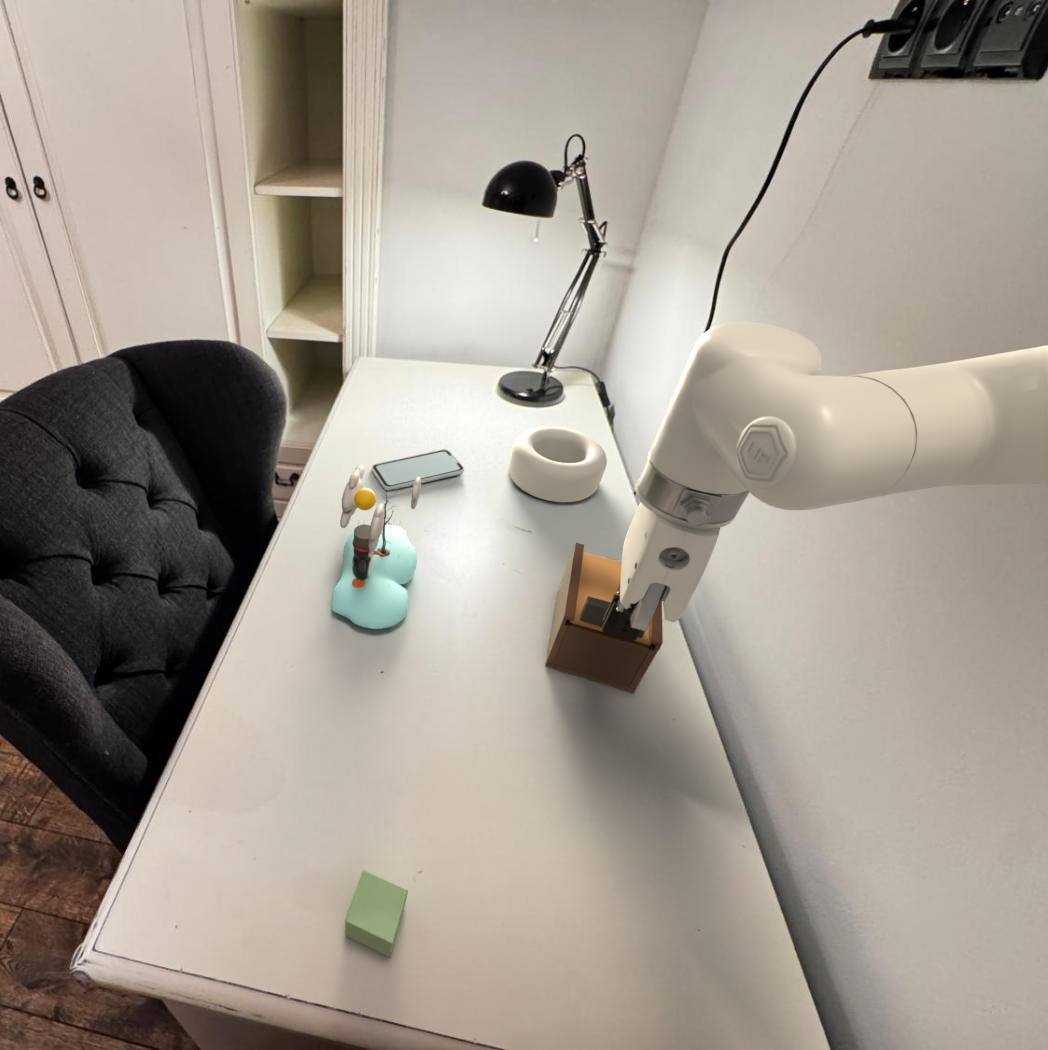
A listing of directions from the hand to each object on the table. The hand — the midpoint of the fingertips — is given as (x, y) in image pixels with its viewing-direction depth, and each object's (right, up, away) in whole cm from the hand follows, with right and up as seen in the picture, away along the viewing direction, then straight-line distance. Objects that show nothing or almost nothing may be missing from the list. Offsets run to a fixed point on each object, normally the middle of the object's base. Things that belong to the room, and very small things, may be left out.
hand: (618, 630), depth 57 cm
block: (-25, -23, -9) cm, 35 cm away
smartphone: (-15, +20, +42) cm, 49 cm away
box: (+3, -4, +14) cm, 15 cm away
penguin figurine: (-24, +3, +22) cm, 33 cm away
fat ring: (+8, +18, +41) cm, 45 cm away
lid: (+3, +2, +9) cm, 10 cm away
